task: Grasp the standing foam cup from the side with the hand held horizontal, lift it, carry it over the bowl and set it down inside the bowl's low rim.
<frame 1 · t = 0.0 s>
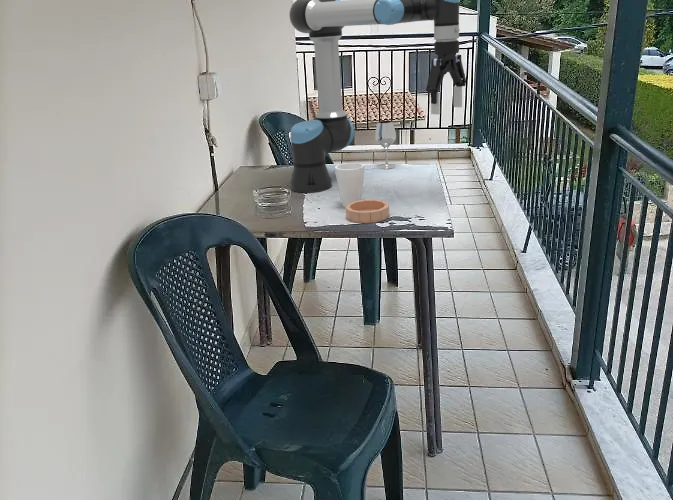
hand: (446, 110, 202), 28 cm above the table, tool pointing down, fingers open, 13 cm apart
bowl: (367, 216, 197), on the table
foam cup: (351, 205, 210), on the table
wineglass: (386, 167, 253), on the table
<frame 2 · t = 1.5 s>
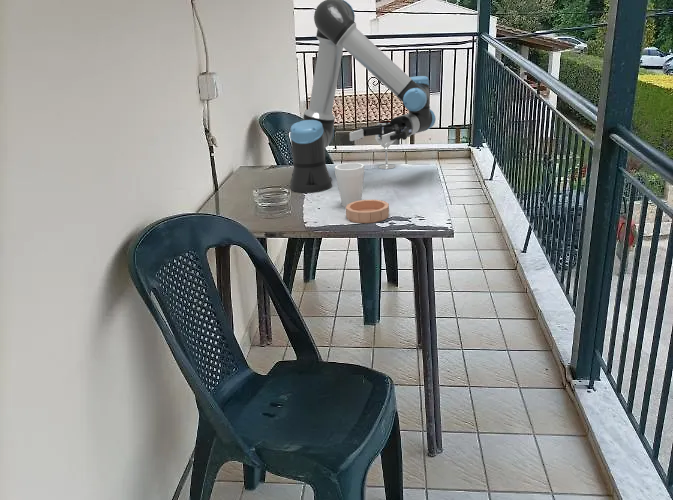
hand: (366, 138, 209), 20 cm above the table, tool horizontal, fingers open, 13 cm apart
nothing on the table moved.
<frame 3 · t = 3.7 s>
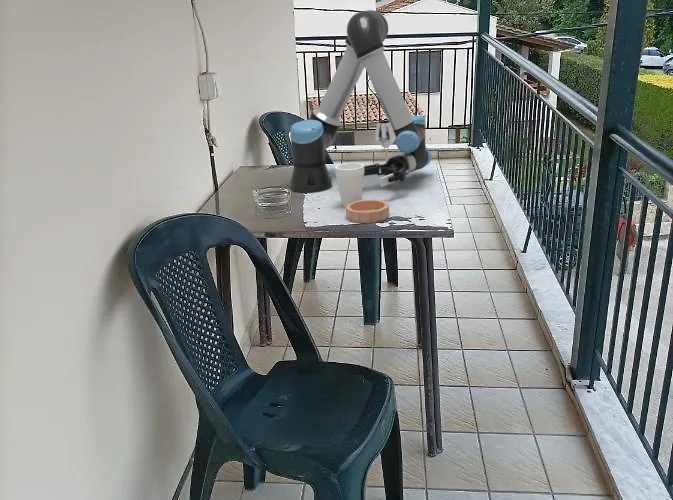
hand: (364, 180, 211), 7 cm above the table, tool horizontal, fingers open, 13 cm apart
nothing on the table moved.
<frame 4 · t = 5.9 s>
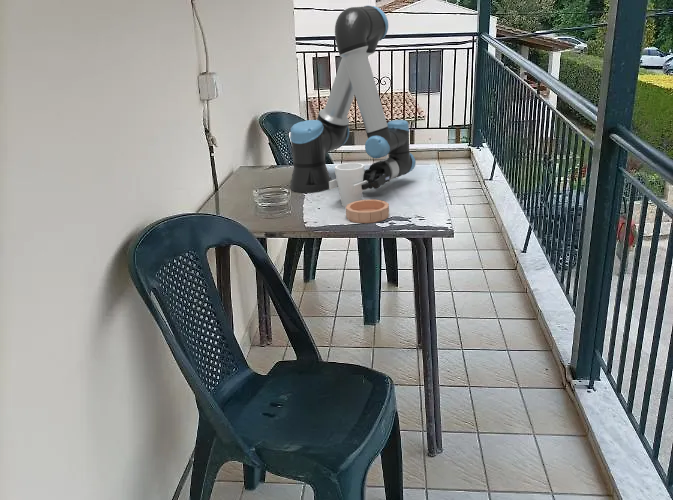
hand: (341, 187, 204), 7 cm above the table, tool horizontal, fingers closed on foam cup, 9 cm apart
foam cup: (351, 205, 210), on the table, touching gripper
everything else where it was.
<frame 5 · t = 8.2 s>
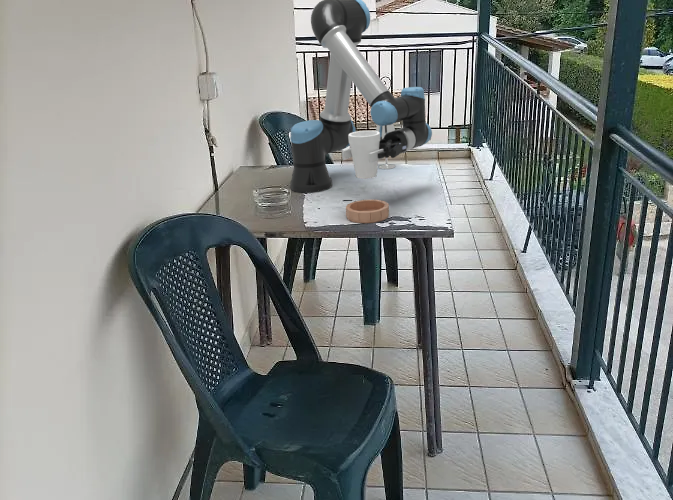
hand: (356, 156, 189), 19 cm above the table, tool horizontal, fingers closed on foam cup, 9 cm apart
foam cup: (366, 176, 194), point 12 cm above the table, touching gripper
everything else where it was.
when the fingers open (9 cm above the table, at t = 10.7 s): foam cup drops 1 cm, resting on bowl.
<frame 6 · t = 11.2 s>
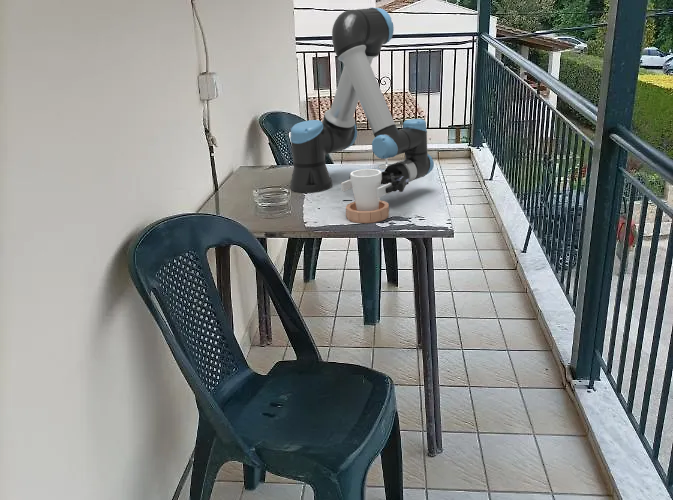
hand: (359, 190, 192), 9 cm above the table, tool horizontal, fingers open, 13 cm apart
foam cup: (368, 214, 197), point 1 cm above the table, touching bowl
everything else where it was.
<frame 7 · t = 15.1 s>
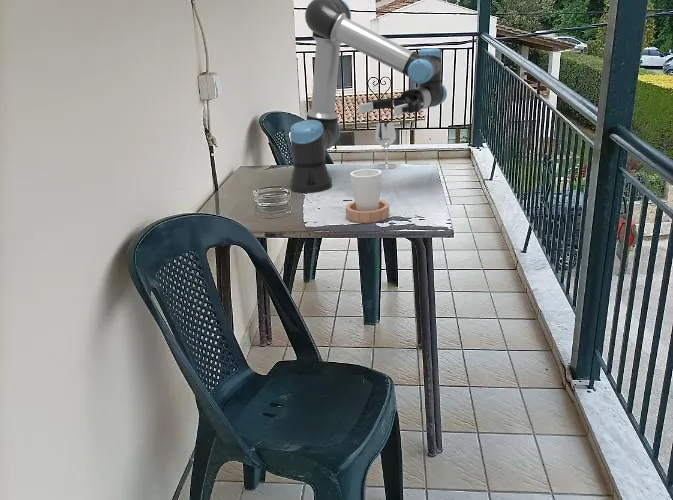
hand: (376, 110, 199), 30 cm above the table, tool horizontal, fingers open, 13 cm apart
nothing on the table moved.
at the end: foam cup 0.1 cm from the bowl (horizontally); foam cup tilted 0°; foam cup point 0.6 cm above the table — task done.
